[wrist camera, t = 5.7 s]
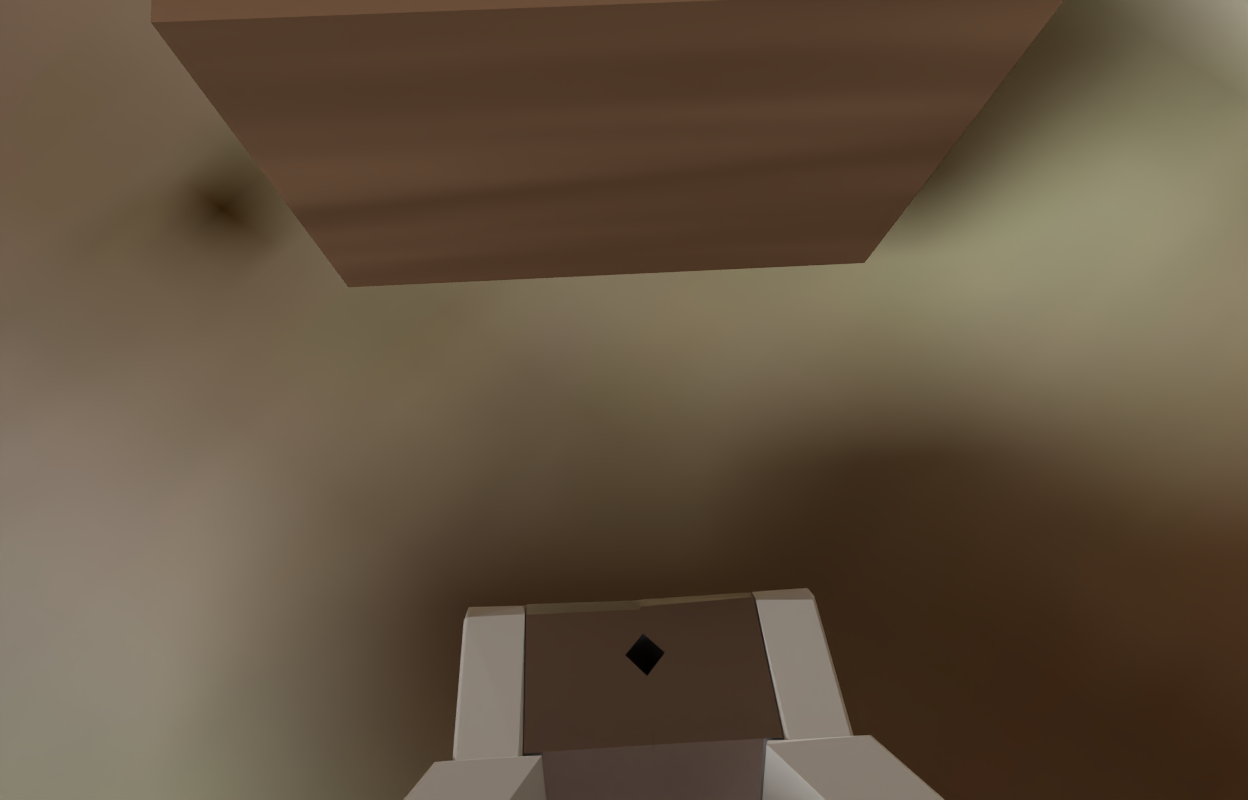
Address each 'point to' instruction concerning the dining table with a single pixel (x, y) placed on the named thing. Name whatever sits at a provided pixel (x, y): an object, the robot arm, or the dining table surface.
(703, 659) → the robot arm
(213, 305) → the dining table surface
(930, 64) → the shaft
